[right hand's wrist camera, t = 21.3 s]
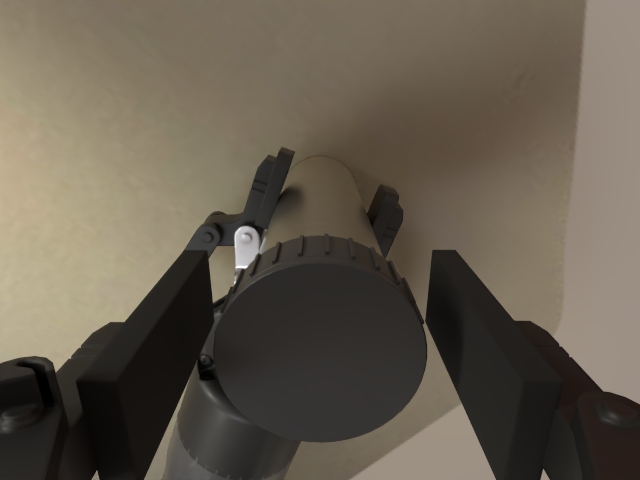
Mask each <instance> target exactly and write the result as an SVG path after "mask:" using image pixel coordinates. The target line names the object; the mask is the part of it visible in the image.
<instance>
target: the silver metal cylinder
mask: <svg viewBox="0 0 640 480" xmlns="http://www.w3.org/2000/svg"><path fill="white" fill-rule="evenodd" d="M324 234H329V236H334V237H340V238H345V239H349V237H350V238H353V241H355V242H358V243H360V244H362V245H364V246H367V247H369V248H371V247H373V248H375V251H376V252H377V253H378V254H380V255H381V256H382V253H381V250H380V248H379V245H378V242H377V240H376V237H375V234H374V232H373V229H372V226H371V224H370V221H369V218H368V215H367V213H366V210H365V207H364V205H363V202H362V199H361V197H360V194H359V191H358V189H357V186H356V183H355V181H354V178H353V176H352V174H351V173H350V171H349V170H348V169H347V168H346V167H345V166H344V165H343V164H342V163H340V162H339V161H337V160H335V159H332V158H329V157H323V156H317V157H311V158H307V159H305V160H303V161H301V162H299V163H298V164H297V165H295V166H294V167H293V168H292V170H291V171H290V172H289V174H288V176H287V178H286V180H285V183H284V185H283V188H282V191H281V194H280V197H279V199H278V202H277V205H276V208H275V210H274V213H273V215H272V218H271V221H270V223H269V226H268V229H267V232H266V234H265V237H264V240H263V242H262V245H261V248H260V251H259V253H260V254H262V253H264V252H265V251H267V250H268V249H270V248H272V247H274V246H276V243H277V242H279V241H280V242H281V243H283V242H286V241H289V240H291V239H296V238H299V237H300V235H304V237H305V236H318V235H319V236H324ZM382 257H383V256H382Z"/></svg>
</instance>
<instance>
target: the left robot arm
mask: <svg viewBox="0 0 640 480" xmlns="http://www.w3.org/2000/svg"><path fill="white" fill-rule="evenodd" d="M294 153H295V151H292V150H289V149H287V148H284V147H282V148H281V149H280V151H279V153H278V156H277V158H276V157H274V156H271V155H268V156H267V157H266V158H265V159H264V161H263V162H262V163H261V164H260V166H259V167H258V169H257V172H256V175H255V178H254V181H253V184H252V188H251V191H250V194H249V197H248V200H247V203H246V206H245V210H244V212H242V213H240V214H237V215H226V214H225V213H223V212H220V211H216V212H213V213H211V214H210V215H209V216H208V218H207V219H206V221H205V222H204V224H202V225H201V226H200V227H199V228H198V229H197V231H196V232H195V234H194V235H193V237H192V239H191V240H190V242H189V243H188V245H187V246H186V248H185V250H208V259H209V257H210V256H211V254H212V253H213V251H214V250H215V248H216V247H217V246H235V265H236V269H235V277H234V284H235V282H236V280H237V278H238V275H239V273H240V271H241V269H242V268H243V269H244V270H245V269H246V268H247V267H248V265H249V264H250V263H251V262H252V261H254V259H255V257H256V255H257V254H258V253H259V251H260V248H261V245H262V242H263V240H264V237H265V229H268V226H269V223H270V221H271V218H272V215H273V213H274V210H275V208H276V205H277V202H278V199H279V197H280V194H281V191H282V188H283V185H284V182H285V179H286V177H287V174H288V171H289V168H290V165H291V162H292V159H293V156H294ZM398 200H399V195H398V194H397V192H396V191H395V190H394V189H393V188H390V187H387V186H385V185H382V184H381V185H380V186H379V188H378V190H377V192H376V194H375V197H374V199H373V201H372V204H371V206H370V208H369V211H368V213H367V215H368V218H369V221H370V224H371V226H372V229H373V232H374V234H375V237H376V240H377V242H378V245H379V248H380V250H381V253H382V256H383V258H386V256H387V254H388V252H389V249H390V247H391V245H392V243H393V241H394V238H395V237H396V234H397V232H398V230H399V228H400V226H401V224H402V221H403V209H402V208H401V206H400V205H399V203H398ZM226 297H227V295H225V296H224V297H222V298H221V299H219V300H218V301H216V302H214V303H213V310H214V320H215V322H214V324H213V326H212V329H211V331H210V333H209V335H208V338H207V340H206V342H205V344H204V346H203V349H202V351H201V353H200V355H199V358H198V360H197V362H196V364H195V367H194V369H193V371H192V373H191V376H190V379H189V383H188V386H187V389H186V392H185V395H184V398H183V401H182V404H181V408H180V410H179V412H178V415H177V420H176V423H175V426H174V429H173V433H172V436H171V439H170V443H169V447H168V452H167V458H166V467H165V471H164V474H163V477H162V480H283V479H284V476H285V474H286V472H287V470H288V468H289V466H290V463H291V461H292V459H293V457H294V455H295V453H296V450H297V448H298V446H299V444H300V442H301V441H299V440H294V439H290V438H286V437H283V436H280V435H277V434H274V433H272V432H270V431H268V430H266V429H263V428H261V427H260V426H258V425H257V424H255V423H253V422H252V421H250V420H249V419H248V418H247V417H246V416H244V415H243V414H242V413H241V412H240V411H239V410H238V409H237V408H236V407H235V406H234V405H233V404H232V402H231V401H230V400H229V398H228V397H227V396H226V394H225V392H224V390H223V388H222V387H221V385H220V382H219V379H218V377H217V374H216V370H215V365H214V356H213V346H214V337H215V335H214V333H215V329H216V327H217V325H218V322H219V320H220V318H221V315H222V314H221V313H220V310H221V308H222V306H223V303H224V301H225V299H226Z"/></svg>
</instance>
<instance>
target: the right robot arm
mask: <svg viewBox="0 0 640 480" xmlns="http://www.w3.org/2000/svg"><path fill="white" fill-rule="evenodd" d="M214 322H215V320H214V310H213V300H212V290H211V280H210V270H209V260H208V250H184V251H183V252H182V254H181V255H180V256H179V257H178V258H177V260H176V261H175V262H174V263H173V265H172V266H171V267H170V268H169V269H168V271H167V272H166V273H165V274H164V275H163V277H162V278H161V279H160V280H159V281H158V283H157V284H156V285H155V286H154V287H153V289H152V290H151V291H150V292H149V293H148V295H147V296H146V297H145V298H144V299H143V301H142V302H141V303H140V304H139V305H138V307H137V308H136V309H135V310H134V311H133V313H132V314H131V315H130V316H129V318H128V319H127V320H126V321H125V322H110V323H108V324H107V325H105V326H103V327H102V328H100V329H98V330H97V331H95V332H94V333H92V334H91V335H90V336H89V338H88V339H87V340H86V341H85V342H84V343H83V344H82V345H81V348H78V349H77V351H76V352H75V353H74V354H73V355H72V356H71V359H68V360H67V361H66V362H65V364H64V365H63V366H62V367H61V368H60V369H59V370H58V371H57V372H56V373H55V369H54V365H53V362H51V361H50V360H49V359H47V358H44V357H37V356H32V357H22V358H17V359H14V360H10V361H6V362H3V363H1V364H0V480H91V479H92V478H93V476H94V474H95V472H96V471H98V475H99V479H100V480H144V478H145V476H146V474H147V471H148V469H149V467H150V465H151V462H152V460H153V458H154V456H155V453H156V451H157V449H158V447H159V445H160V442H161V440H162V438H163V436H164V433H165V431H166V429H167V427H168V424H169V422H170V420H171V418H172V416H173V413H174V411H175V409H176V407H177V404H178V402H179V400H180V398H181V396H182V393H183V391H184V389H185V387H186V384H187V382H188V380H189V378H190V375H191V373H192V371H193V369H194V367H195V364H196V362H197V360H198V358H199V355H200V353H201V351H202V349H203V346H204V344H205V342H206V340H207V338H208V335H209V333H210V331H211V329H212V326H213V324H214ZM425 322H426V324H427V326H428V329H429V331H430V333H431V335H432V338H433V340H434V342H435V344H436V346H437V349H438V351H439V353H440V355H441V358H442V360H443V362H444V364H445V367H446V369H447V371H448V373H449V375H450V378H451V380H452V382H453V384H454V387H455V389H456V391H457V393H458V396H459V398H460V400H461V402H462V404H463V407H464V409H465V411H466V413H467V415H468V418H469V420H470V422H471V424H472V427H473V429H474V431H475V433H476V436H477V438H478V440H479V442H480V445H481V447H482V449H483V451H484V453H485V456H486V458H487V460H488V462H489V465H490V467H491V469H492V471H493V474H494V476H495V478H496V480H540V479H541V475H542V471H543V469H544V470H545V472H546V474H547V475H548V477H549V479H550V480H640V404H638V403H636V402H634V401H632V400H630V399H628V398H626V397H623V396H620V395H617V394H614V393H611V392H603V391H602V390H601V389H600V387H599V386H598V385H597V384H596V383H595V382H594V381H593V380H592V379H591V378H590V377H589V376H588V375H587V373H586V372H585V371H584V370H583V369H582V368H581V367H580V366H579V365H578V364H577V363H576V362H575V361H574V359H573V358H572V357H569V354H568V353H567V352H566V351H565V350H564V349H563V348H562V347H560V346H559V343H558V342H557V341H556V340H555V339H554V338H553V337H552V336H551V335H550V334H549V333H548V332H547V331H546V330H544V329H542V328H541V327H539V326H537V325H536V324H534V323H532V322H531V321H514V320H513V319H512V318H511V316H510V315H509V314H508V313H507V311H506V310H505V309H504V308H503V307H502V305H501V304H500V303H499V302H498V301H497V299H496V298H495V297H494V296H493V295H492V293H491V292H490V291H489V290H488V289H487V287H486V286H485V285H484V284H483V283H482V281H481V280H480V279H479V278H478V277H477V275H476V274H475V273H474V272H473V271H472V269H471V268H470V267H469V266H468V265H467V263H466V262H465V261H464V260H463V258H462V257H461V256H460V255H459V254H458V252H457V251H456V250H432V260H431V270H430V280H429V290H428V300H427V310H426V320H425Z"/></svg>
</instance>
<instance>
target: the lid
mask: <svg viewBox="0 0 640 480" xmlns="http://www.w3.org/2000/svg"><path fill="white" fill-rule="evenodd" d="M220 313H221V314H222V315H221V318H220V320H219V322H218V325H217V327H216V329H215V333H214V335H215V337H214V346H213V356H214V365H215V370H216V374H217V377H218V379H219V382H220V385H221V387H222V388H223V390H224V392H225V394H226V396H227V397H228V398H229V400H230V401H231V402H232V404H233V405H234V406H235V407H236V408H237V409H238V410H239V411H240V412H241V413H242V414H243V415H244V416H246V417H247V418H248V419H249V420H250V421H252V422H253V423H255V424H257V425H258V426H260V427H261V428H263V429H266V430H268V431H270V432H272V433H274V434H277V435H280V436H283V437H286V438H290V439H294V440H299V441H307V442H335V441H341V440H347V439H351V438H354V437H358V436H361V435H363V434H366V433H368V432H371V431H373V430H375V429H377V428H379V427H380V426H382V425H384V424H385V423H387V422H388V421H390V420H391V419H393V418H394V417H395V416H396V415H397V414H398V413H399V412H401V411H402V410H403V408H404V407H405V406H406V405H407V404H408V403H409V402H410V400H411V399H412V397H413V396H414V394H415V393H416V391H417V389H418V387H419V385H420V383H421V381H422V378H423V375H424V371H425V367H426V361H427V342H426V336H425V332H424V328H423V325H422V324H424V320H423V318H422V316H421V314H420V311H419V309H418V307H417V305H416V301H415V299H414V297H413V295H412V292H411V290H410V288H409V286H408V283H407V281H406V279H405V278H401V277H400V275H399V274H398V272H397V271H396V269H395V267H394V264H393V262H392V261H391V260H390V261H389V262H388V261H387V260H386V259H385V258H383V257H382V256H381V255H380V254H378V253H377V252H376V251H375V248H373V247H371V248H369V247H367V246H364V245H362V244H360V243H358V242H355V241H353V238H350V237H349V239H345V238H340V237H334V236H329V234H324V236H319V235H318V236H305V237H304V235H300V237H299V238H296V239H291V240H289V241H286V242H283V243H281V242H280V241H279V242H277V243H276V246H274V247H272V248H270V249H268V250H267V251H265V252H264V253H262V254H260V253H258V254H257V255H256V257H255V259H254V261H252V262H251V263H250V264H249V265H248V267H247V268H246V269H245V270H244V269H243V268H242V269H241V271H240V273H239V275H238V278H237V280H236V282H235V284H234V287H231V288H230V290H229V292H228V294H227V297H226V299H225V301H224V303H223V306H222V308H221V310H220Z"/></svg>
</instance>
